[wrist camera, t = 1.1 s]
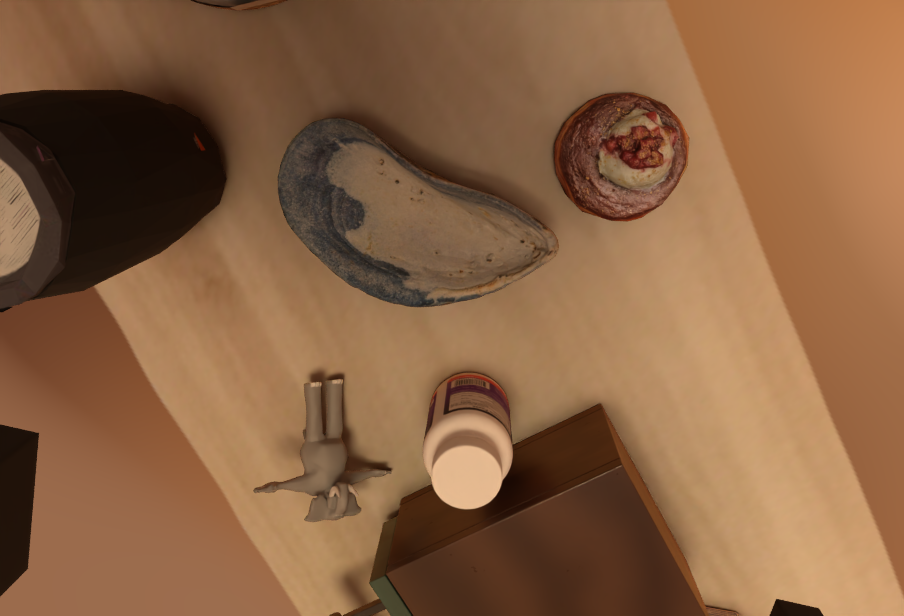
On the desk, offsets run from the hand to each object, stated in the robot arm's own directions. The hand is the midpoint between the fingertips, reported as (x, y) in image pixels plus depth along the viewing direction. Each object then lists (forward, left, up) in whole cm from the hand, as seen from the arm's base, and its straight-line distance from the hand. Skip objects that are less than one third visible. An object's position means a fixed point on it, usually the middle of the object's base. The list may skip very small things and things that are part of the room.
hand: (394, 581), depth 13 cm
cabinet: (+22, -5, -36) cm, 42 cm away
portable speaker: (-12, -14, -36) cm, 41 cm away
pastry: (+1, +10, -36) cm, 38 cm away
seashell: (-3, -2, -36) cm, 36 cm away
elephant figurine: (+8, -15, -36) cm, 40 cm away
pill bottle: (+11, -6, -36) cm, 38 cm away
